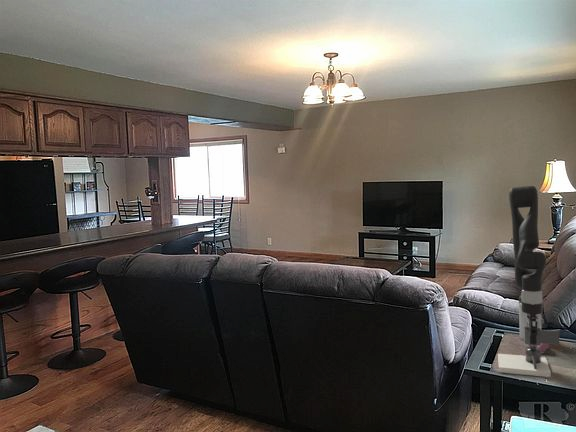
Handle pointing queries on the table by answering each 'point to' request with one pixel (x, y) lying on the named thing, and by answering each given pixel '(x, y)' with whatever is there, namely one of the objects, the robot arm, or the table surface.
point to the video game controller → (542, 347)
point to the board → (522, 365)
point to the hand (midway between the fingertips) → (532, 341)
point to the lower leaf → (533, 355)
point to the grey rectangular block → (542, 336)
